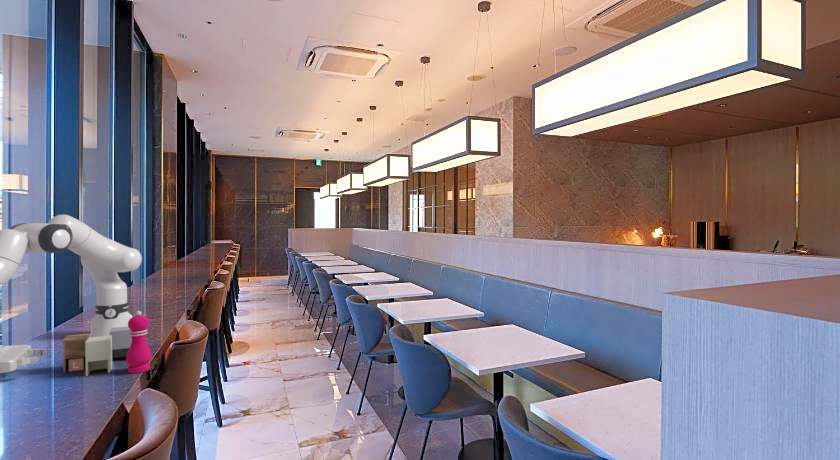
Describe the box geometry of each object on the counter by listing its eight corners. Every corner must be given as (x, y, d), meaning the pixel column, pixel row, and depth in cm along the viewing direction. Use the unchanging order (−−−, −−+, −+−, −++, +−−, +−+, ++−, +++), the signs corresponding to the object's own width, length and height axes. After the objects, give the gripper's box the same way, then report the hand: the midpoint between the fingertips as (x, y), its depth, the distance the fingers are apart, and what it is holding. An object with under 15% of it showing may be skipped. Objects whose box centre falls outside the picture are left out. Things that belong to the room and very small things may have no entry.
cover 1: (89, 370, 151) (88, 337, 151) (112, 367, 154) (111, 335, 154) (85, 376, 145) (85, 342, 145) (109, 372, 148) (109, 339, 148)
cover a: (67, 367, 154) (67, 335, 154) (90, 364, 157) (90, 333, 157) (63, 373, 148) (62, 339, 148) (87, 370, 151) (86, 337, 151)
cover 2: (112, 357, 165) (111, 327, 165) (132, 355, 168) (132, 326, 168) (109, 362, 159) (109, 331, 159) (131, 360, 162) (130, 329, 162)
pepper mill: (133, 367, 154) (133, 309, 154) (155, 366, 155) (155, 308, 154) (121, 374, 147) (120, 313, 146) (144, 373, 147) (144, 312, 147)
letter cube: (71, 368, 153) (71, 356, 153) (85, 366, 155) (85, 355, 155) (68, 371, 150) (68, 359, 150) (83, 370, 152) (83, 358, 152)
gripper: (-28, 360, 132) (32, 354, 139) (-4, 343, 150) (49, 338, 157) (-28, 382, 132) (33, 374, 139) (-3, 362, 150) (49, 356, 157)
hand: (41, 355), depth 148 cm, fingers open, 8 cm apart
